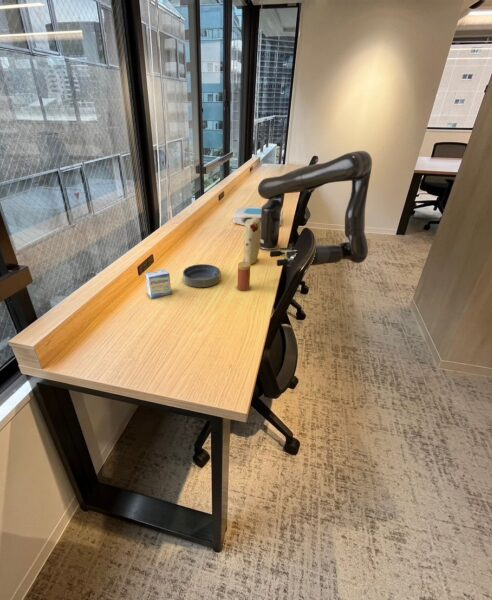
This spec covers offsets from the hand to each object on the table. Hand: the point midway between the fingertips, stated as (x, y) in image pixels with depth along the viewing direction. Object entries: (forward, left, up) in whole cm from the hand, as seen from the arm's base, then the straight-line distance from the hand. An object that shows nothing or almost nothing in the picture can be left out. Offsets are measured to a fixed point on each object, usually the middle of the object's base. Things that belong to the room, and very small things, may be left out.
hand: (273, 258), depth 123 cm
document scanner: (-83, +17, -12) cm, 86 cm away
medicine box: (-1, -43, -12) cm, 45 cm away
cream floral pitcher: (-24, -2, -12) cm, 27 cm away
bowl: (-10, -26, -12) cm, 30 cm away
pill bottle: (0, -11, -12) cm, 16 cm away
